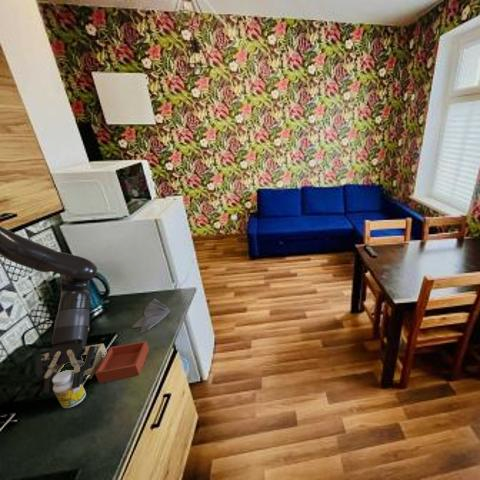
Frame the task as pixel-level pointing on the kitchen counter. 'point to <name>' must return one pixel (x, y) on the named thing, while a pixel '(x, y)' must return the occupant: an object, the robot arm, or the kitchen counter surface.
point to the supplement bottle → (67, 389)
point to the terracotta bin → (122, 361)
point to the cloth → (152, 315)
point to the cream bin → (97, 361)
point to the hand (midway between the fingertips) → (62, 390)
